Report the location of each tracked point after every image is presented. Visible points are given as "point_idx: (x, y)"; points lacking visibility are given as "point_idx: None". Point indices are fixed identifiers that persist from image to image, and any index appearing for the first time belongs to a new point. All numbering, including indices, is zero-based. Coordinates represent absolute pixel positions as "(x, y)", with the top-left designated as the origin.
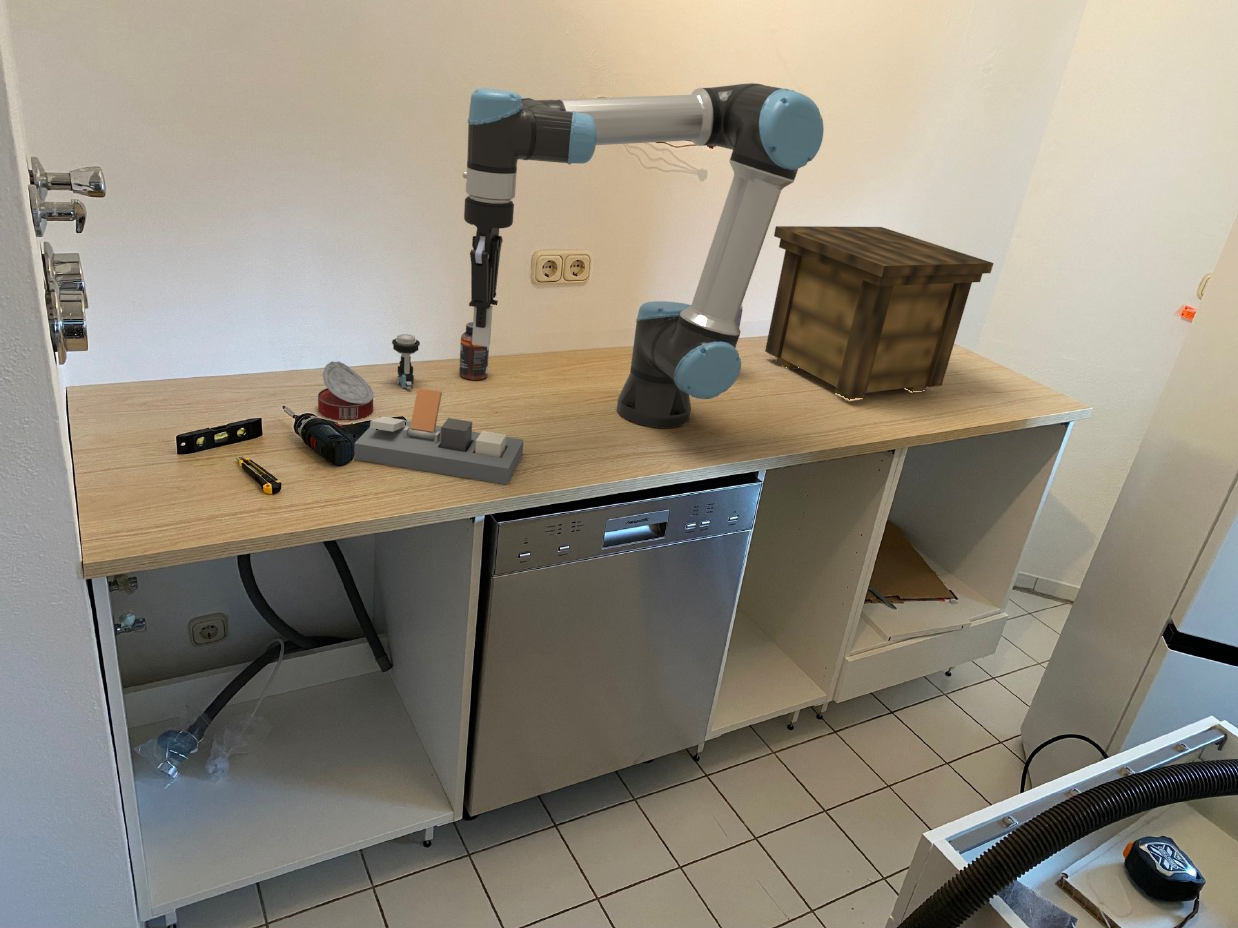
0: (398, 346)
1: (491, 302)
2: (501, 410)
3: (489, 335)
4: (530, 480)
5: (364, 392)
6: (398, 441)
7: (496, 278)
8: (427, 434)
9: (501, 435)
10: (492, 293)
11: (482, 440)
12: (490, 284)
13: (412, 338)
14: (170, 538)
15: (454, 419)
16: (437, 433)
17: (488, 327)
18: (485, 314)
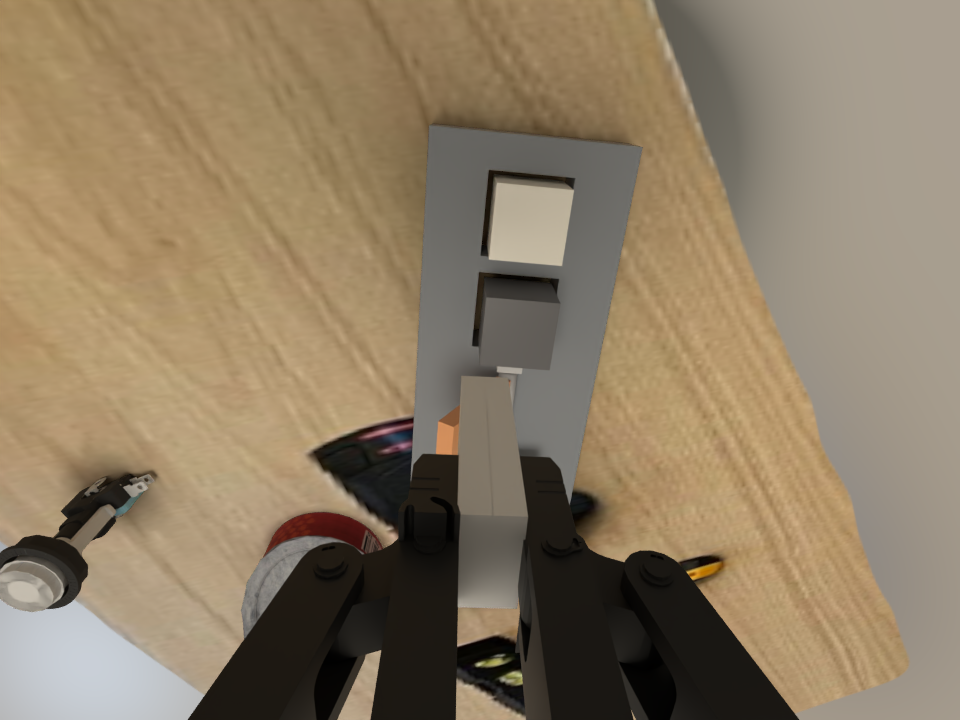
0: (80, 586)
1: (458, 541)
2: (141, 231)
3: (495, 405)
4: (590, 77)
5: (299, 560)
6: (536, 438)
7: (262, 696)
8: (513, 389)
9: (507, 196)
10: (449, 598)
11: (559, 247)
12: (598, 717)
13: (21, 576)
14: (865, 625)
15: (485, 347)
16: (511, 369)
17: (516, 439)
18: (552, 513)
